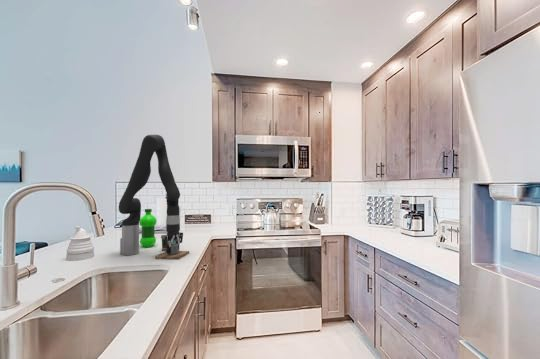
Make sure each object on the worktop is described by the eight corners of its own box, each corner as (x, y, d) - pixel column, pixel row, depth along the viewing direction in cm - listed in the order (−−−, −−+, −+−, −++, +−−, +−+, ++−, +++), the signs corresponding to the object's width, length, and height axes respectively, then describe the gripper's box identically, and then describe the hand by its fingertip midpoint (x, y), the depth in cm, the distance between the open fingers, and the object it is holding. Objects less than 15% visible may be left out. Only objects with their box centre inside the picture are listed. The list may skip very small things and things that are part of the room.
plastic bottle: (144, 244, 186) (144, 208, 186) (159, 244, 185) (159, 208, 186) (136, 248, 176) (136, 209, 176) (152, 248, 175) (152, 209, 176)
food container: (169, 251, 166) (169, 235, 166) (160, 251, 167) (160, 235, 167) (180, 247, 178) (180, 232, 178) (171, 246, 179) (171, 231, 179)
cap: (172, 255, 152) (172, 245, 152) (165, 253, 155) (165, 244, 155) (180, 252, 157) (180, 243, 158) (173, 251, 160) (173, 242, 160)
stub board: (154, 258, 150) (154, 250, 150) (167, 252, 163) (167, 244, 164) (178, 259, 148) (178, 250, 148) (189, 253, 162) (189, 245, 162)
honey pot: (79, 261, 146) (80, 228, 146) (60, 260, 148) (60, 227, 149) (99, 255, 158) (99, 224, 159) (81, 254, 161) (81, 224, 161)
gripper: (168, 225, 148) (168, 255, 148) (186, 221, 161) (186, 250, 161) (158, 224, 152) (158, 254, 151) (177, 221, 165) (177, 248, 164)
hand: (173, 251), depth 156 cm, fingers closed on cap, 6 cm apart
